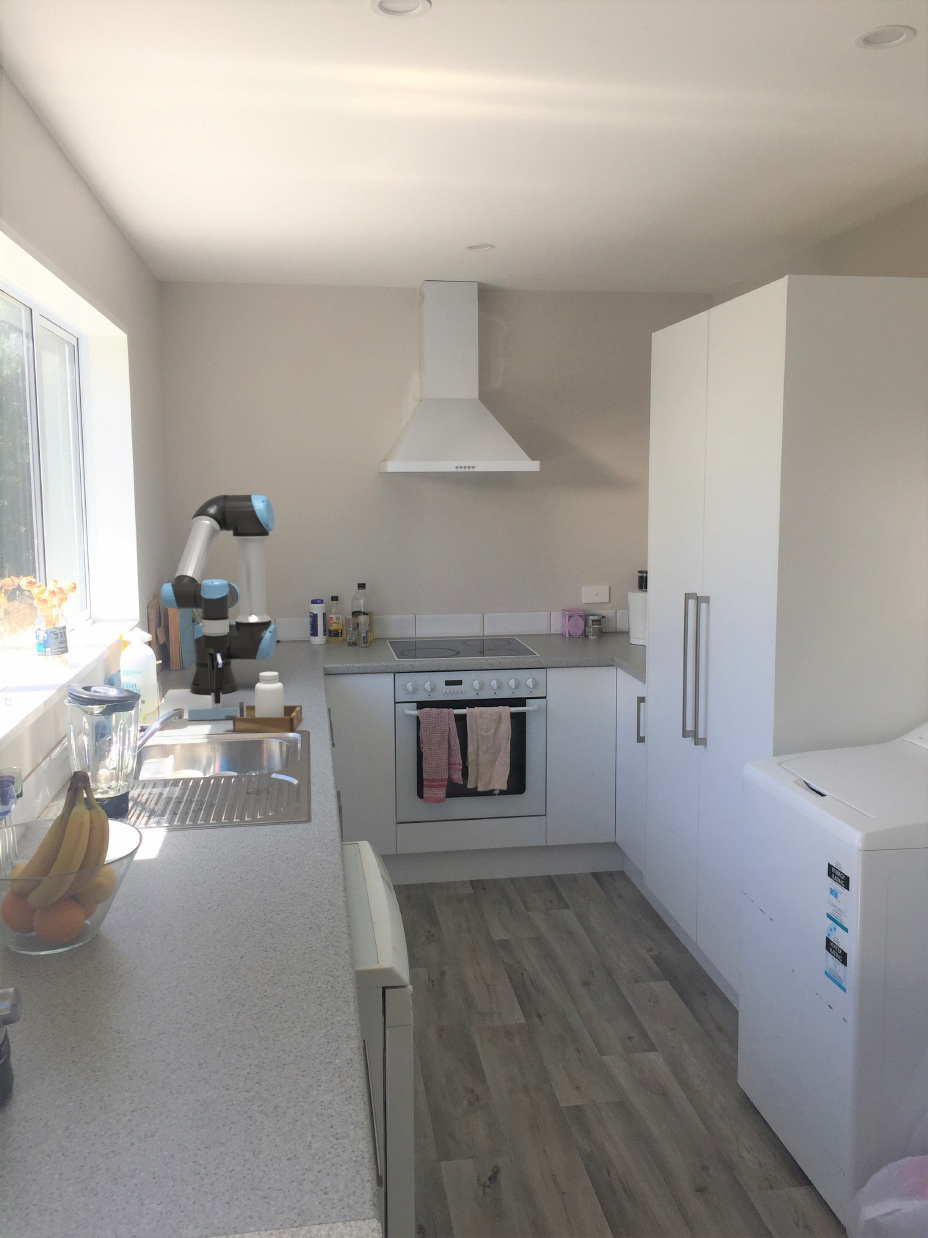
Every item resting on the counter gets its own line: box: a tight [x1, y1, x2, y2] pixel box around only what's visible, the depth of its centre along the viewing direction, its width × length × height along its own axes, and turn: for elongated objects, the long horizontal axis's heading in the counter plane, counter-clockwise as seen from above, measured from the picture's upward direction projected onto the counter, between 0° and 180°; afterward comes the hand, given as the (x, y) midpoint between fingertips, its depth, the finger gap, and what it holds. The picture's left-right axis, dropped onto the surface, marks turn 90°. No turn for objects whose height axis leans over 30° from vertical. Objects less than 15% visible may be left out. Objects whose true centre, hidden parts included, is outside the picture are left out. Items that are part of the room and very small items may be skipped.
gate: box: [187, 707, 238, 721], centre depth 275 cm, size 14×1×3 cm, turn 97°
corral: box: [224, 701, 303, 733], centre depth 269 cm, size 16×19×5 cm
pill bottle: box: [254, 671, 285, 717], centre depth 268 cm, size 8×8×15 cm
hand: (216, 713), depth 277 cm, fingers closed
